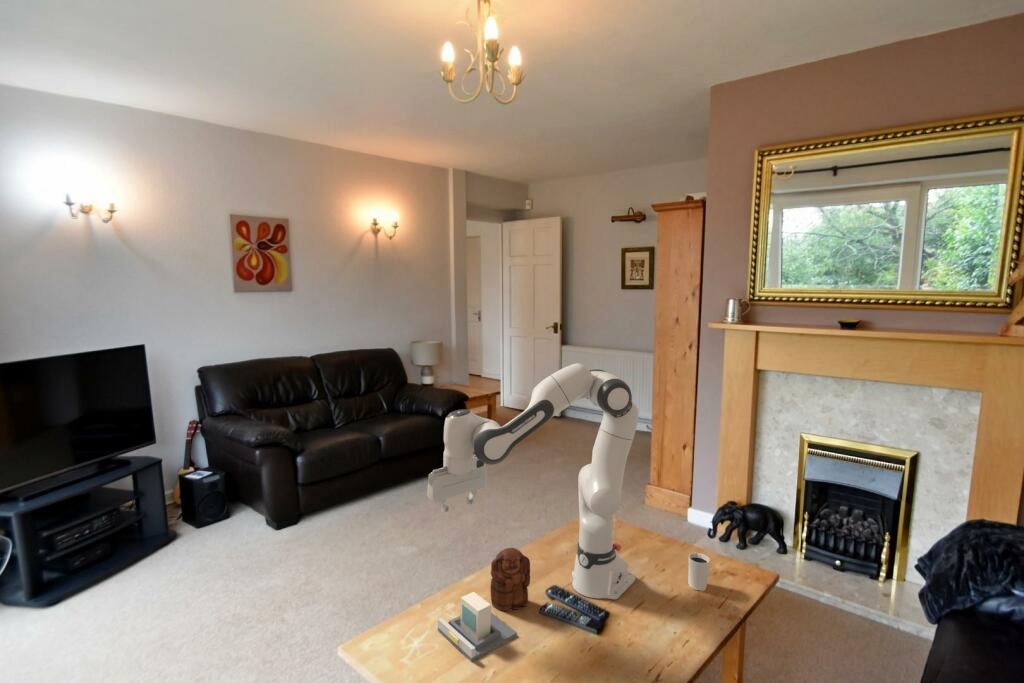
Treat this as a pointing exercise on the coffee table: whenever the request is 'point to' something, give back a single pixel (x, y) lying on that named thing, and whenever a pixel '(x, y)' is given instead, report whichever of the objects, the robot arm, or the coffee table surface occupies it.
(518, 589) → the wooden figurine
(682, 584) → the coffee table surface
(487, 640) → the display base
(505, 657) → the coffee table surface
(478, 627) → the product carton
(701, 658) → the coffee table surface
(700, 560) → the white cup
